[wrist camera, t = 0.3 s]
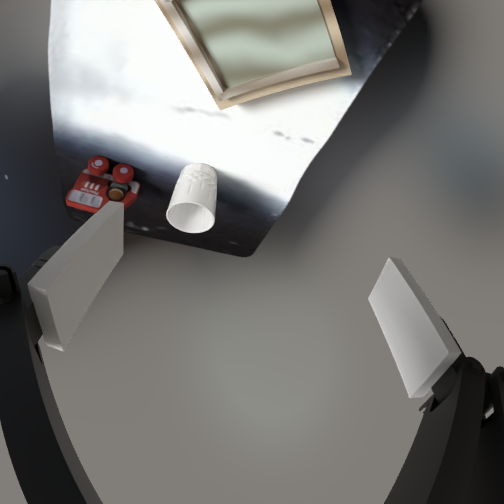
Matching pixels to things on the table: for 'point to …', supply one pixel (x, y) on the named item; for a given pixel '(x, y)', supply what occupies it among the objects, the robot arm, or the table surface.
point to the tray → (258, 44)
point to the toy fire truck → (103, 186)
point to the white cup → (194, 199)
